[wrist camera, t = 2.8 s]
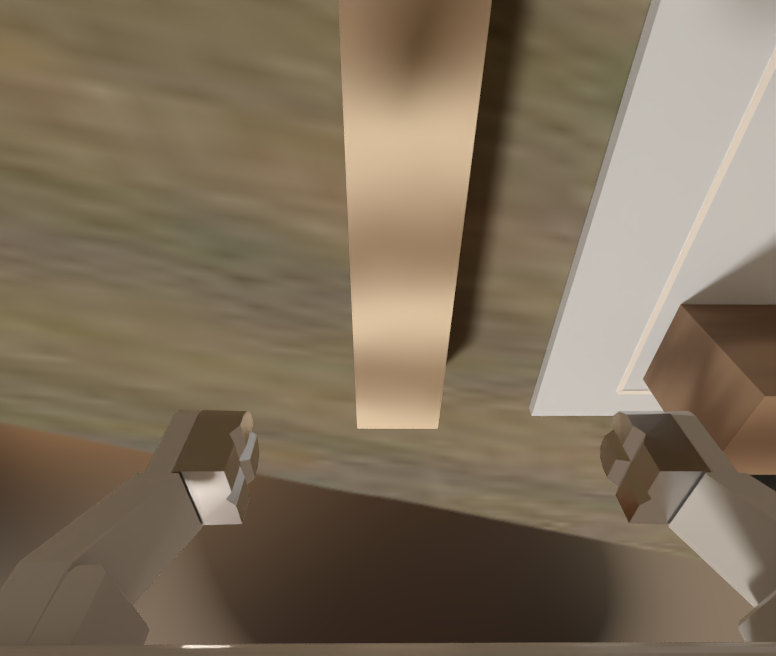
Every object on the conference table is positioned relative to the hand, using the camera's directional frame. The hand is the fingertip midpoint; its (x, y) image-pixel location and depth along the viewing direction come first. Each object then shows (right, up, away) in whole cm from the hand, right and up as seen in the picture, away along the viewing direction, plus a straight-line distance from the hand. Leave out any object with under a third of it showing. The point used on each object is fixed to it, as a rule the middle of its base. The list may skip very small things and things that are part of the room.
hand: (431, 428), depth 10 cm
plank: (0, +8, +9) cm, 12 cm away
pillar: (+16, +1, +13) cm, 20 cm away
